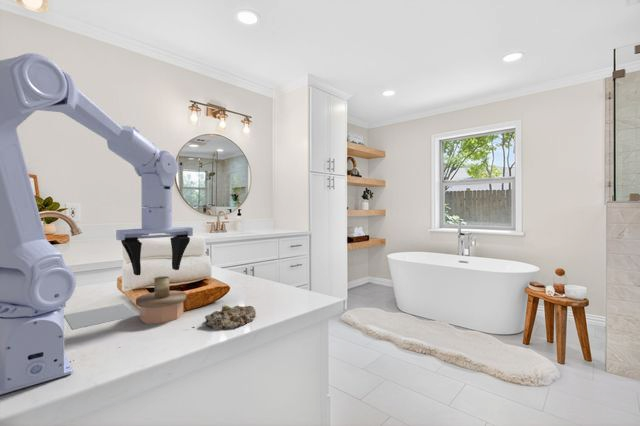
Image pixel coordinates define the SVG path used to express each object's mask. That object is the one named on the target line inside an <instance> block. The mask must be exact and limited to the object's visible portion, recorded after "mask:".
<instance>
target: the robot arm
mask: <svg viewBox="0 0 640 426" xmlns="http://www.w3.org/2000/svg"><path fill="white" fill-rule="evenodd" d="M36 111H43V112H54V113H62V114H64V115H66V116H67V117H69V118H70V119H72V120H74V121H75V122H76V123H79V124H80V125H82V126H83V127H85V128H86V129H88V130H90V131H92V132H93V133H95V134H96V135H98V136H100V137H101V138H103V139H104V140H106V144H107V148H108V149H109V151H111V152H112V153H114V154H115V155H116V156H118V157H120V158H122V160H124V161H126V162H127V163H129V164H130V165H131V166H132V167H133V168H134V171H135V173H136V174H137V176H138V177H141V178H140V179H141V180H140V181H141V228H131V229H128V228H127V229H116V230H115V232H116V235H115V238H116V239H115V240H117V241H121V244H122V246H123V248H124V250H125V252H126V253H127V256H128V258H129V260H130V263H131V266H132V271H133V275H135V276H141V273H142V270H141V269H142V268H141V267H142V266H141V254H142V253H141V251H142V245H143V243H142V242H140V239H141V240H142V239H155V238H156V239H160V238H170V245H171V254H172V256H171V267H172V270H174V271H179V270H180V266H181V262H182V258H183V255H184V253H185V252H186V249H187V247H188V245H189V243H190V242H191V241H190V240H191V237H192V236H194V235H193V233H194V232H193V231H194V227H190V226H184V227H183V226H182V227H181V226H180V227H179V226H177V227H173V206H172V204H173V203H172V202H173V197H172V196H173V195H172V194H173V192H172V191H173V186H174V184H175V178H176V176H177V174H178V172H179V165H178V163H177V159H176V157H175V156H174V155H173V154H172V153H170V152H169V151H167V150H161V149H159V147H157V144H155V143H153V142H151V141H149V140H148V139H147V138H146V137H145V136H143V135H142V134H141V133H140V130H139V129H138V128H137V127H135V126H134V127H132V126H130V125H120V124H119V123H118V122H116V121H115V120H114V119H113V118H112V117H110V115H109V114H107V113H106V112H105V111H104V110H103V109H102V108H100V106H98V105H97V104H96V103H94V101H93V100H91V99H90V98H89V97H88V96H87V95H85V93H83V92H82V91H81V90H80V89H79V88H77V86H76V83H75V81H74V79H73V77H72V76H71V75H70V74H69V73H67V72H65V71H64V70H62V69H61V68H60V67H59V66H58V65H57V64H56V62H54V61H53V60H52V59H49V57H46V56H44V55H42V54H38V53H33V52H31V53H29V52H28V53H24V54H22V55H21V54H20V55H18V56H14V57H11V58H4V59H1V60H0V395H1V396H2V395H3V394H8V393H10V392H15V391H17V390H20V389H23V388H28V387H31V386H34V385H38V384H42V383H45V382H48V381H52V380H54V379H57V378H61V377H64V376H69V375H71V374H73V372H74V368H73V366H72V364H71V362H70V360H69V358H68V356H67V353H66V351H65V317H64V315H65V308H66V307H67V302H68V301H69V300H70V298H72V296H73V294H74V292H75V289H76V284H77V279H76V276H75V274H74V272H73V271H72V269H70V268H69V267H68V266H67V265H66V263H65V261H64V258H63V254H62V253H61V252H60V251H59V250H58V248H56V247H55V246H54V245H52V244H51V242H49V241H48V240H47V236H46V232H45V229H44V226H43V221H42V219H41V214H40V211H39V208H38V204H37V200H36V196H35V193H34V190H33V186H32V182H31V177H30V174H29V171H28V167H27V164H26V160H25V156H24V152H23V148H22V145H21V142H20V138H19V134H18V130H17V129H18V127H19V126H20V125H21V124H22V123H23V122H24V121H25V120H27V119H28V118H29V117H30V116H32V114H34V113H35V112H36ZM151 234H153V235H151Z"/></svg>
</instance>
